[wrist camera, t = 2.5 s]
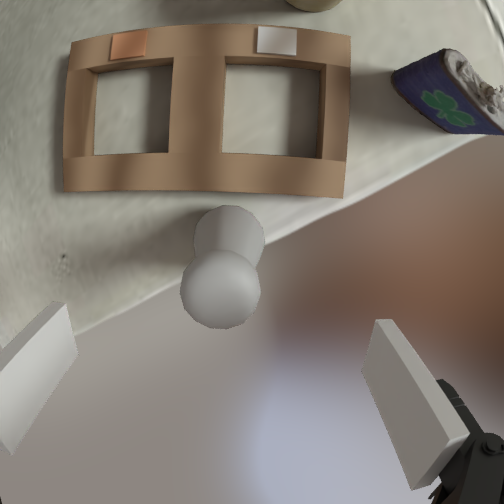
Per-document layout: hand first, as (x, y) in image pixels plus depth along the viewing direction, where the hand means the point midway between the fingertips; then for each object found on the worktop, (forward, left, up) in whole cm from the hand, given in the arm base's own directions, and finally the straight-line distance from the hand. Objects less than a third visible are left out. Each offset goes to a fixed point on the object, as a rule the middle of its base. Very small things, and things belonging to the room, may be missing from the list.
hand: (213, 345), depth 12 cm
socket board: (-3, +11, -17) cm, 20 cm away
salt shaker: (0, 0, -17) cm, 17 cm away
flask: (+18, +14, -17) cm, 28 cm away
